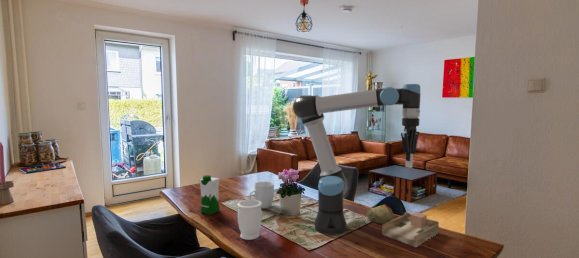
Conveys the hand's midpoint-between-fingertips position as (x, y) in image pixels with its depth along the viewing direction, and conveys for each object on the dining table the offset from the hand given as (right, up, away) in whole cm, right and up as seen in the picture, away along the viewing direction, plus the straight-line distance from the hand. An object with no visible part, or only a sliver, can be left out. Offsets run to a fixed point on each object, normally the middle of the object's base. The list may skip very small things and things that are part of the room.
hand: (408, 167), depth 145 cm
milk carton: (-99, -27, +21) cm, 105 cm away
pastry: (-11, -28, +9) cm, 31 cm away
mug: (-72, -26, +28) cm, 81 cm away
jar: (-74, -30, -9) cm, 80 cm away
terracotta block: (+3, -26, -4) cm, 27 cm away
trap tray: (-2, -29, -7) cm, 30 cm away
